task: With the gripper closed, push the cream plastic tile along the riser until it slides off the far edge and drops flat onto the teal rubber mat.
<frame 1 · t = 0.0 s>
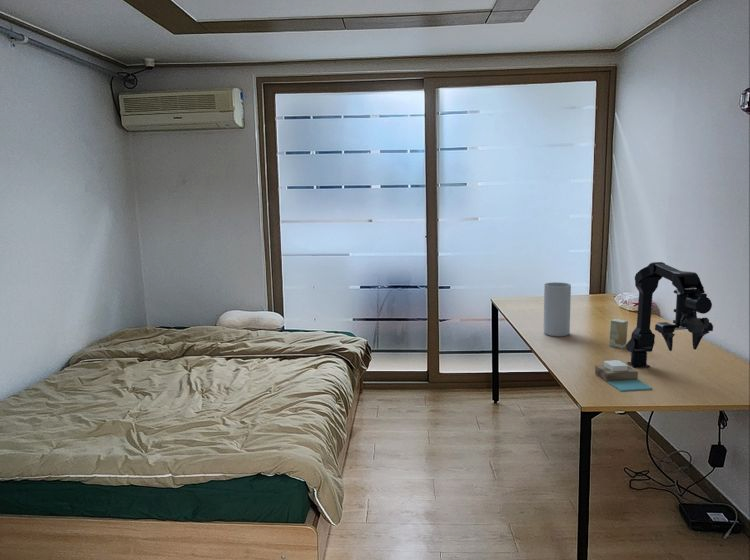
hand: (682, 350, 212), 15 cm above the table, tool pointing down, fingers open, 9 cm apart
mat: (629, 386, 219), on the table
tile: (615, 368, 228), point 3 cm above the table, touching riser
riser: (615, 377, 229), on the table
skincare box: (617, 346, 270), on the table
cylinder vase: (556, 334, 295), on the table
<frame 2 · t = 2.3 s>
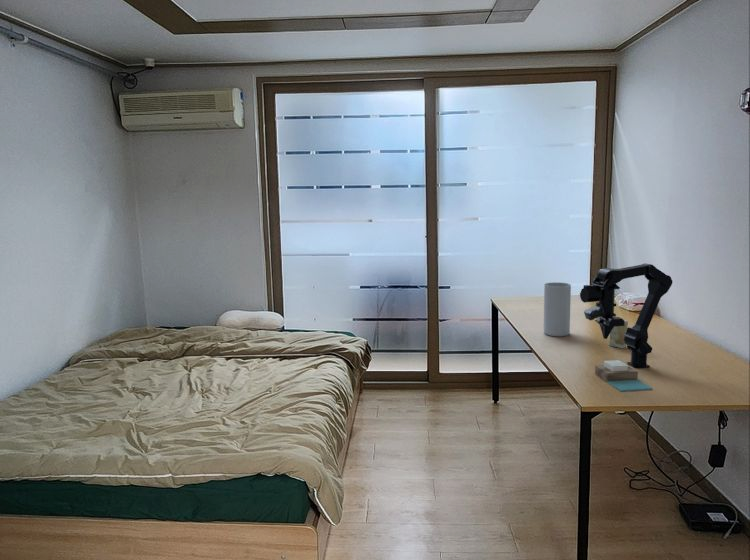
hand: (605, 338, 236), 13 cm above the table, tool pointing down, fingers closed
nothing on the table moved.
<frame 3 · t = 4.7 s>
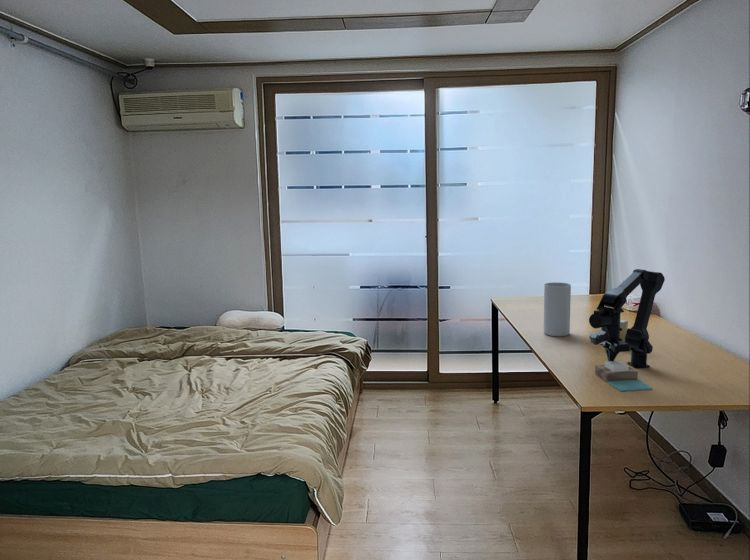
hand: (610, 363, 232), 4 cm above the table, tool pointing down, fingers closed
tile: (616, 368, 228), point 4 cm above the table, touching gripper, riser
everything else where it was.
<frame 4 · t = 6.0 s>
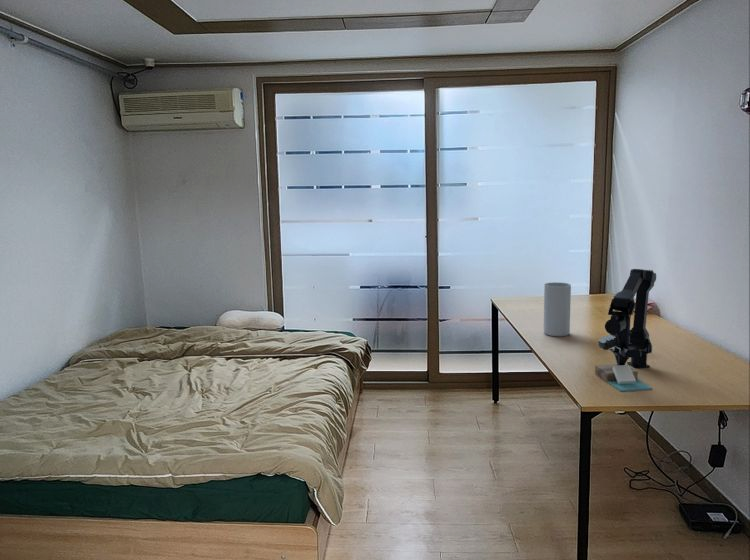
hand: (620, 368, 225), 4 cm above the table, tool pointing down, fingers closed
tile: (623, 376, 222), point 3 cm above the table, tilted 38°, touching gripper
everything else where it was.
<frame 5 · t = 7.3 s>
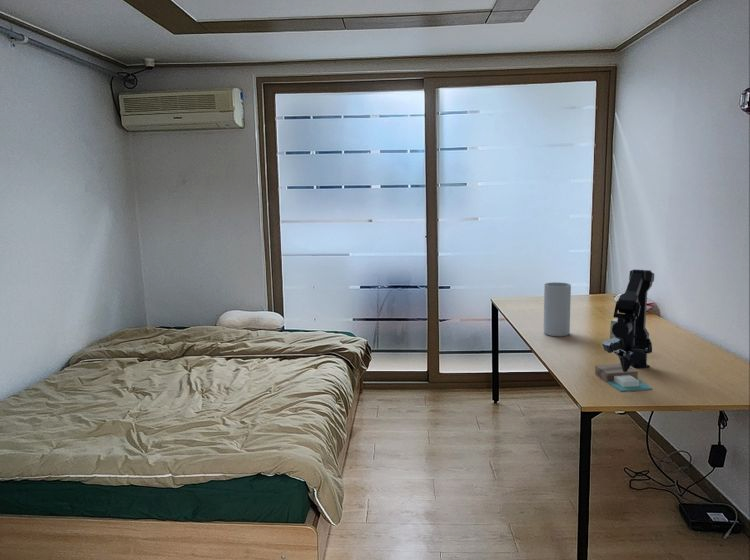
hand: (624, 371, 222), 4 cm above the table, tool pointing down, fingers closed
tile: (626, 383, 220), resting on mat
everything else where it was.
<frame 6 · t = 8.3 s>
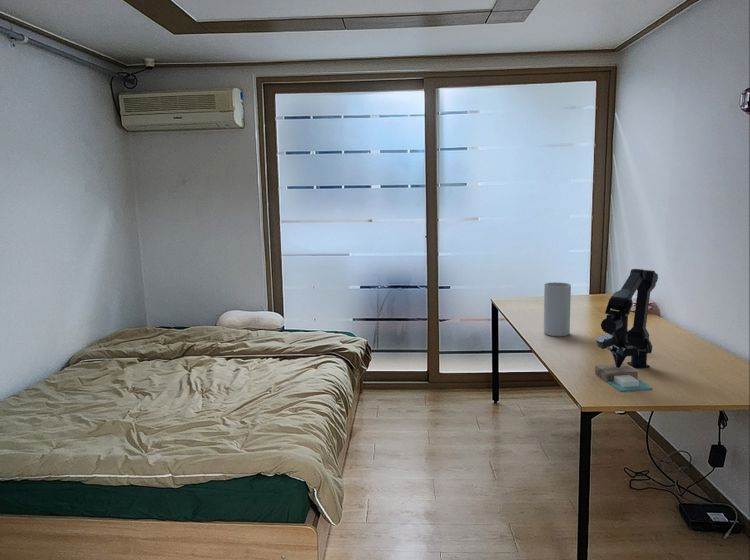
hand: (618, 367, 227), 4 cm above the table, tool pointing down, fingers closed
nothing on the table moved.
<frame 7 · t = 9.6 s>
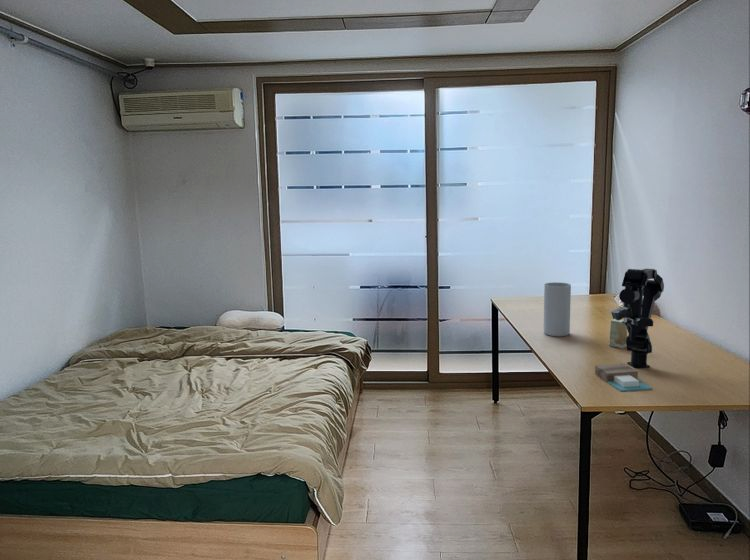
hand: (631, 340, 232), 13 cm above the table, tool pointing down, fingers closed
nothing on the table moved.
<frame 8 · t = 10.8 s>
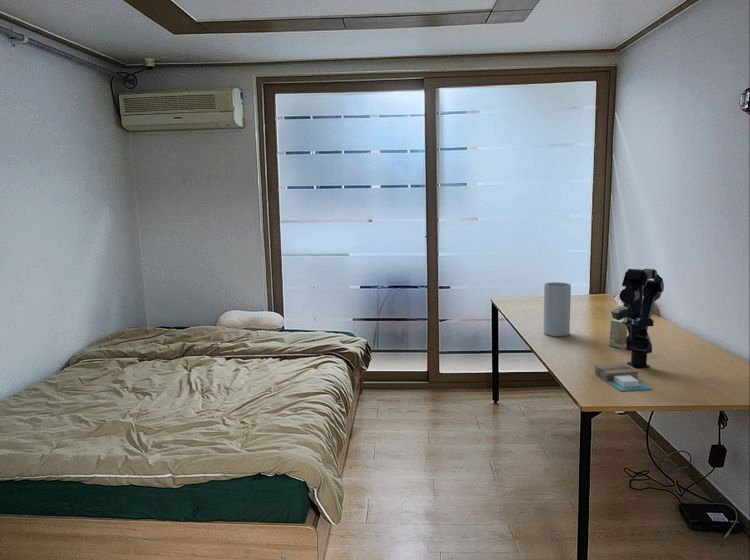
hand: (632, 340, 232), 13 cm above the table, tool pointing down, fingers closed
nothing on the table moved.
at the end: tile inside the target area (1.7 cm from its centre), point 0.5 cm above the table; tile point 0.5 cm above the table; tile tilted 0° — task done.
